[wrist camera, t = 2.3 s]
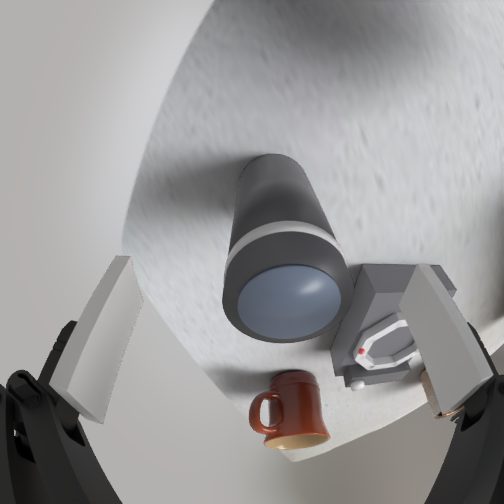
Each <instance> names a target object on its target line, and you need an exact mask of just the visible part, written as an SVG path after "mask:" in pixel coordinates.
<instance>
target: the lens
mask: <svg viewBox="0 0 504 504" xmlns="http://www.w3.org/2000/svg"><path fill="white" fill-rule="evenodd" d="M353 299H354V284H353V280H352V278H351V275H350V273H349V270H348V266H347V262H346V259H345V257H344V255H343V252H342V250H341V248H340V246H339V244H338V243H337V241H336V239H335V236H334V234H333V232H332V229H331V227H330V225H329V223H328V220H327V218H326V216H325V214H324V212H323V209H322V207H321V205H320V203H319V201H318V199H317V197H316V194H315V192H314V190H313V188H312V186H311V184H310V182H309V180H308V178H307V176H306V174H305V172H304V170H303V169H302V167H301V166H300V165H299V164H298V163H297V162H296V161H295V160H293V159H291V158H290V157H287V156H284V155H280V154H267V155H263V156H260V157H258V158H256V159H254V160H253V161H252V162H250V163H249V164H248V165H247V166H246V168H245V169H244V170H243V172H242V174H241V177H240V181H239V187H238V193H237V200H236V206H235V213H234V219H233V226H232V233H231V239H230V246H229V253H228V258H227V261H226V266H225V273H224V289H223V297H222V304H223V309H224V312H225V315H226V316H227V318H228V320H229V321H230V322H231V324H232V325H233V326H234V327H235V328H237V329H238V330H239V331H241V332H242V333H244V334H246V335H247V336H250V337H252V338H254V339H258V340H261V341H265V342H271V343H294V342H300V341H305V340H308V339H312V338H314V337H317V336H319V335H321V334H323V333H325V332H327V331H329V330H330V329H332V328H333V327H334V326H336V325H337V324H338V323H339V322H340V321H341V320H342V319H343V318H344V317H345V315H346V314H347V312H348V311H349V309H350V307H351V305H352V302H353Z"/></svg>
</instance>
